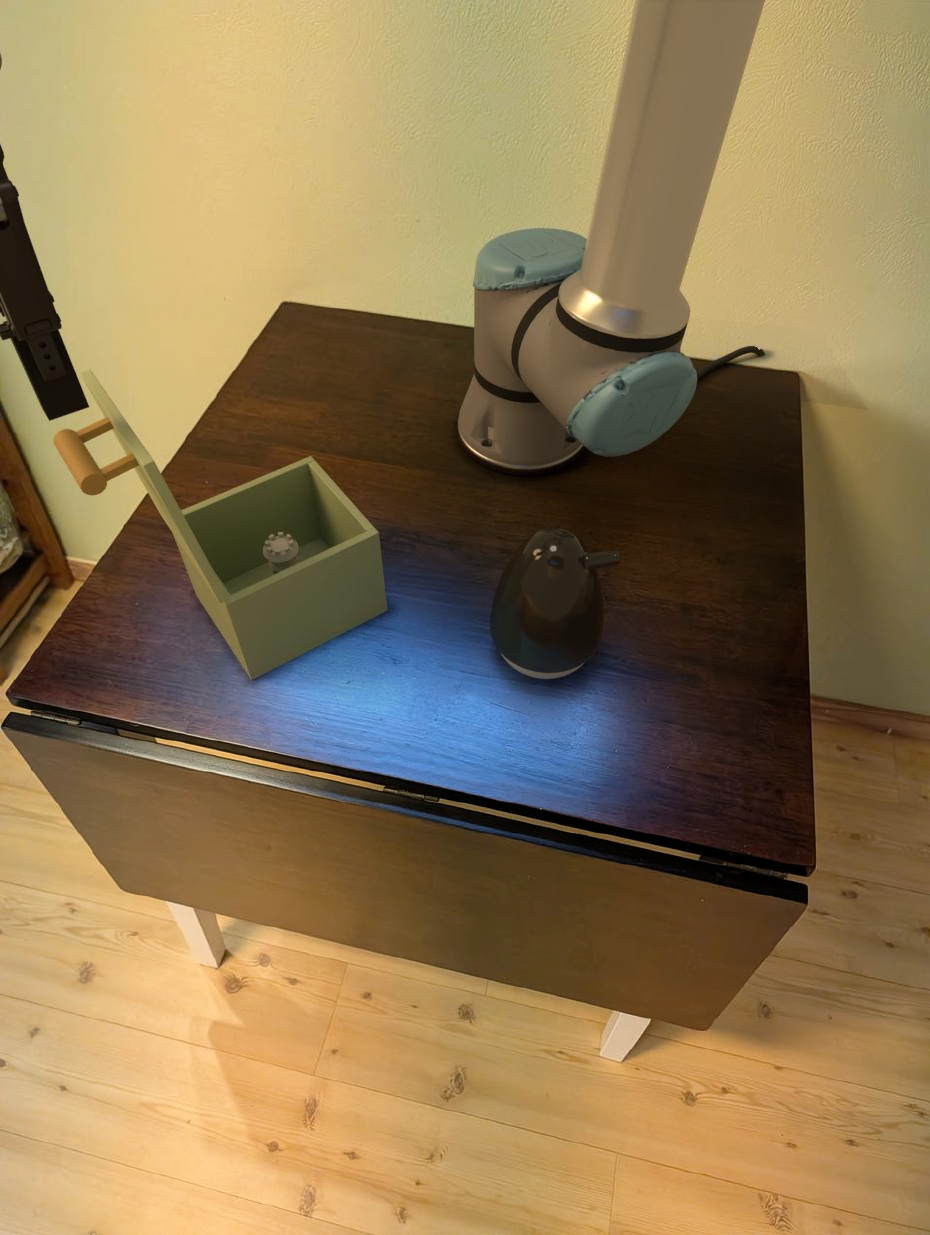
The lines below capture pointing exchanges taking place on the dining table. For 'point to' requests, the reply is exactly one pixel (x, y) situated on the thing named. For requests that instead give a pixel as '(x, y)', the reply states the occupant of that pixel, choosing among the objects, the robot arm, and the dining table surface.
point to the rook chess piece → (281, 552)
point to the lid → (139, 459)
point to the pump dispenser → (550, 604)
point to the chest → (300, 595)
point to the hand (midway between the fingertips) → (65, 408)
